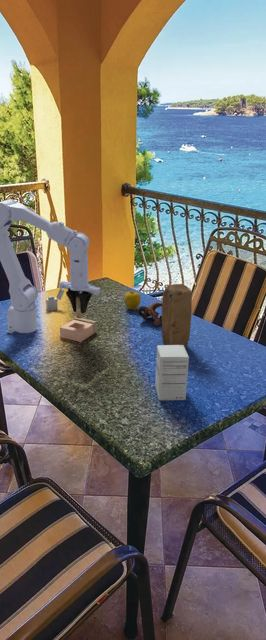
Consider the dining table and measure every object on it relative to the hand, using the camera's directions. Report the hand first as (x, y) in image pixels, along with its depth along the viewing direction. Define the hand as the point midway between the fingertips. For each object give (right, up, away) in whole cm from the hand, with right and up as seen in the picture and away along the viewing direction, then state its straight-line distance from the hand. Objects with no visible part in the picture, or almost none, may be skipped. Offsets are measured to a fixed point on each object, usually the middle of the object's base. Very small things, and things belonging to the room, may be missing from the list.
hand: (79, 311), depth 152 cm
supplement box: (+27, -22, -30) cm, 47 cm away
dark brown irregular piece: (+25, -4, +18) cm, 31 cm away
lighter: (-13, +1, +28) cm, 31 cm away
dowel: (0, -2, +1) cm, 2 cm away
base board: (-2, -10, 0) cm, 10 cm away
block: (+31, -11, -1) cm, 33 cm away
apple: (+17, +1, +30) cm, 34 cm away
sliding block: (-1, -8, +1) cm, 8 cm away
